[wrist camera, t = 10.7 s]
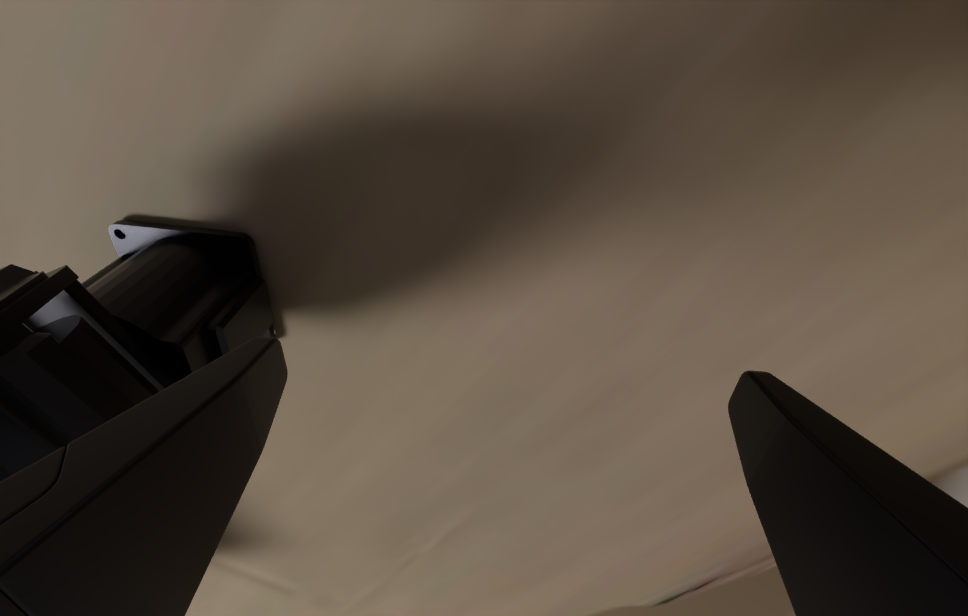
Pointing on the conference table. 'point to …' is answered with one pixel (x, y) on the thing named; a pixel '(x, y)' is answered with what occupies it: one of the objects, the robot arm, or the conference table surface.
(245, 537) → the conference table surface
